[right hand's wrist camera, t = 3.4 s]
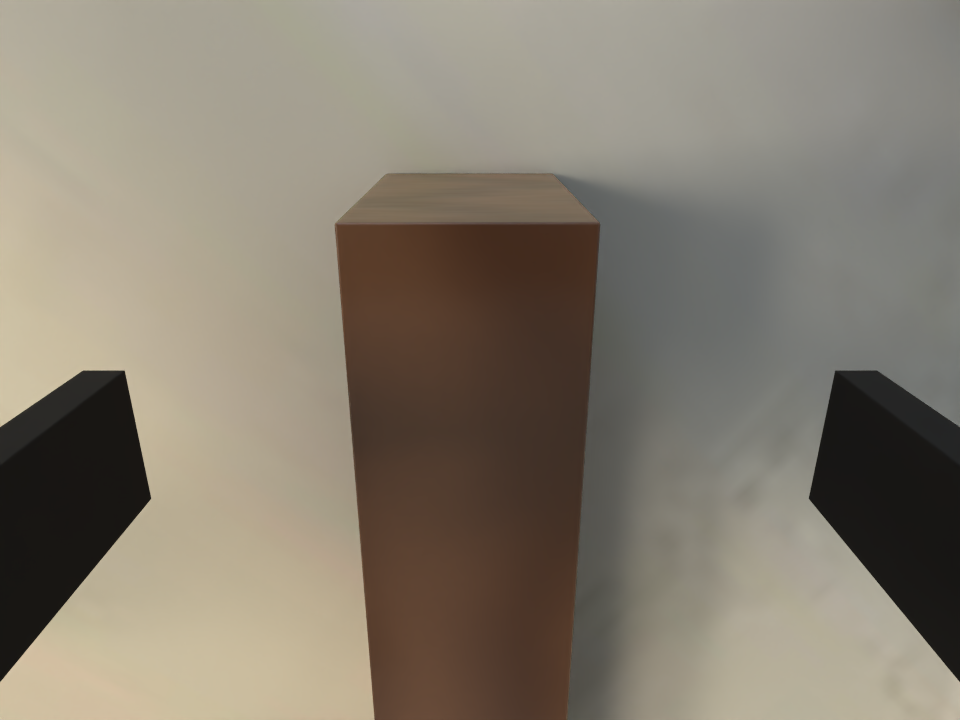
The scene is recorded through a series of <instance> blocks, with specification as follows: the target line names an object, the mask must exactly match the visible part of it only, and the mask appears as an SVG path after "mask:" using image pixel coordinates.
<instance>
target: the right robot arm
mask: <svg viewBox="0 0 960 720" xmlns="http://www.w3.org/2000/svg"><path fill="white" fill-rule="evenodd" d="M150 499H151V495H150V491H149V486H148V481H147V476H146V471H145V467H144V462H143V457H142V452H141V447H140V442H139V438H138V433H137V428H136V423H135V418H134V414H133V409H132V404H131V399H130V394H129V390H128V385H127V380H126V375H125V371H82V372H80V373H79V374H78V375H76V376H75V377H73V378H72V379H70V380H69V381H67V382H66V383H64V384H63V385H61V386H60V387H58V388H57V389H56V390H54V391H53V392H51V393H50V394H48V395H47V396H45V397H44V398H42V399H41V400H39V401H38V402H37V403H35V404H34V405H32V406H31V407H29V408H28V409H26V410H25V411H23V412H22V413H20V414H19V415H18V416H16V417H15V418H13V419H12V420H10V421H9V422H7V423H6V424H4V425H3V426H1V427H0V682H1V680H2V679H3V678H4V677H5V675H6V674H7V673H8V672H9V671H10V669H11V668H12V667H13V666H14V665H15V663H16V662H17V661H18V660H19V658H20V657H21V656H22V655H23V654H24V652H25V651H26V650H27V649H28V648H29V646H30V645H31V644H32V643H33V641H34V640H35V639H36V638H37V637H38V635H39V634H40V633H41V632H42V631H43V629H44V628H45V627H46V626H47V624H48V623H49V622H50V621H51V620H52V618H53V617H54V616H55V615H56V614H57V612H58V611H59V610H60V609H61V607H62V606H63V605H64V604H65V603H66V601H67V600H68V599H69V598H70V597H71V595H72V594H73V593H74V592H75V590H76V589H77V588H78V587H79V586H80V584H81V583H82V582H83V581H84V580H85V578H86V577H87V576H88V575H89V573H90V572H91V571H92V570H93V569H94V567H95V566H96V565H97V564H98V563H99V561H100V560H101V559H102V558H103V556H104V555H105V554H106V553H107V552H108V550H109V549H110V548H111V547H112V546H113V544H114V543H115V542H116V541H117V540H118V538H119V537H120V536H121V535H122V533H123V532H124V531H125V530H126V529H127V527H128V526H129V525H130V524H131V523H132V521H133V520H134V519H135V518H136V516H137V515H138V514H139V513H140V512H141V510H142V509H143V508H144V507H145V506H146V504H147V503H148V502H149V501H150ZM809 499H810V501H811V502H812V503H813V504H814V506H815V507H816V508H817V509H818V510H819V512H820V513H821V514H822V515H823V516H824V518H825V519H826V520H827V521H828V523H829V524H830V525H831V526H832V527H833V529H834V530H835V531H836V532H837V533H838V535H839V536H840V537H841V538H842V540H843V541H844V542H845V543H846V544H847V546H848V547H849V548H850V549H851V550H852V552H853V553H854V554H855V555H856V556H857V558H858V559H859V560H860V561H861V563H862V564H863V565H864V566H865V567H866V569H867V570H868V571H869V572H870V573H871V575H872V576H873V577H874V578H875V580H876V581H877V582H878V583H879V584H880V586H881V587H882V588H883V589H884V590H885V592H886V593H887V594H888V595H889V597H890V598H891V599H892V600H893V601H894V603H895V604H896V605H897V606H898V607H899V609H900V610H901V611H902V612H903V614H904V615H905V616H906V617H907V618H908V620H909V621H910V622H911V623H912V624H913V626H914V627H915V628H916V629H917V631H918V632H919V633H920V634H921V635H922V637H923V638H924V639H925V640H926V641H927V643H928V644H929V645H930V646H931V648H932V649H933V650H934V651H935V652H936V654H937V655H938V656H939V657H940V658H941V660H942V661H943V662H944V663H945V665H946V666H947V667H948V668H949V669H950V671H951V672H952V673H953V674H954V675H955V677H956V678H957V679H958V680H959V682H960V427H959V426H957V425H956V424H954V423H953V422H951V421H950V420H948V419H947V418H945V417H944V416H942V415H941V414H940V413H938V412H937V411H935V410H934V409H932V408H931V407H929V406H928V405H926V404H925V403H923V402H922V401H921V400H919V399H918V398H916V397H915V396H913V395H912V394H910V393H909V392H907V391H906V390H904V389H903V388H902V387H900V386H899V385H897V384H896V383H894V382H893V381H891V380H890V379H888V378H887V377H885V376H884V375H882V374H881V373H880V372H878V371H835V375H834V380H833V385H832V390H831V394H830V399H829V404H828V409H827V414H826V418H825V423H824V428H823V433H822V438H821V442H820V447H819V452H818V457H817V462H816V467H815V471H814V476H813V481H812V486H811V491H810V495H809Z"/></svg>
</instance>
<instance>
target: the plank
mask: <svg viewBox="0 0 960 720" xmlns="http://www.w3.org/2000/svg"><path fill="white" fill-rule="evenodd" d="M335 233H336V246H337V258H338V271H339V283H340V295H341V308H342V320H343V333H344V345H345V357H346V370H347V382H348V395H349V407H350V419H351V432H352V444H353V457H354V469H355V482H356V494H357V506H358V519H359V531H360V544H361V556H362V568H363V581H364V593H365V606H366V618H367V630H368V643H369V655H370V668H371V680H372V692H373V705H374V717H375V720H567V714H568V699H569V684H570V669H571V654H572V639H573V624H574V609H575V594H576V579H577V564H578V549H579V534H580V519H581V504H582V489H583V475H584V460H585V445H586V430H587V415H588V400H589V385H590V370H591V355H592V340H593V325H594V310H595V295H596V280H597V265H598V250H599V235H600V223H599V222H598V221H597V220H596V218H595V217H594V216H593V215H592V214H591V213H590V212H589V211H588V210H587V209H586V208H585V207H584V206H583V205H582V204H581V203H580V202H579V201H578V200H577V199H576V198H575V197H574V196H573V194H572V193H571V192H570V191H569V190H568V189H567V188H566V187H565V186H564V185H563V184H562V183H561V182H560V181H559V180H558V179H557V178H556V177H555V176H554V175H553V174H386V175H385V176H384V177H383V178H382V179H381V180H380V181H379V182H378V183H377V184H376V185H375V186H374V187H372V188H371V189H370V190H369V191H368V192H367V193H366V194H365V195H364V196H363V197H362V198H361V199H360V200H359V201H358V202H357V203H356V204H355V205H354V206H353V207H352V208H351V209H350V210H349V211H348V212H347V213H346V214H344V215H343V216H342V217H341V218H340V219H339V220H338V221H337V222H336V223H335Z"/></svg>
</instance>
